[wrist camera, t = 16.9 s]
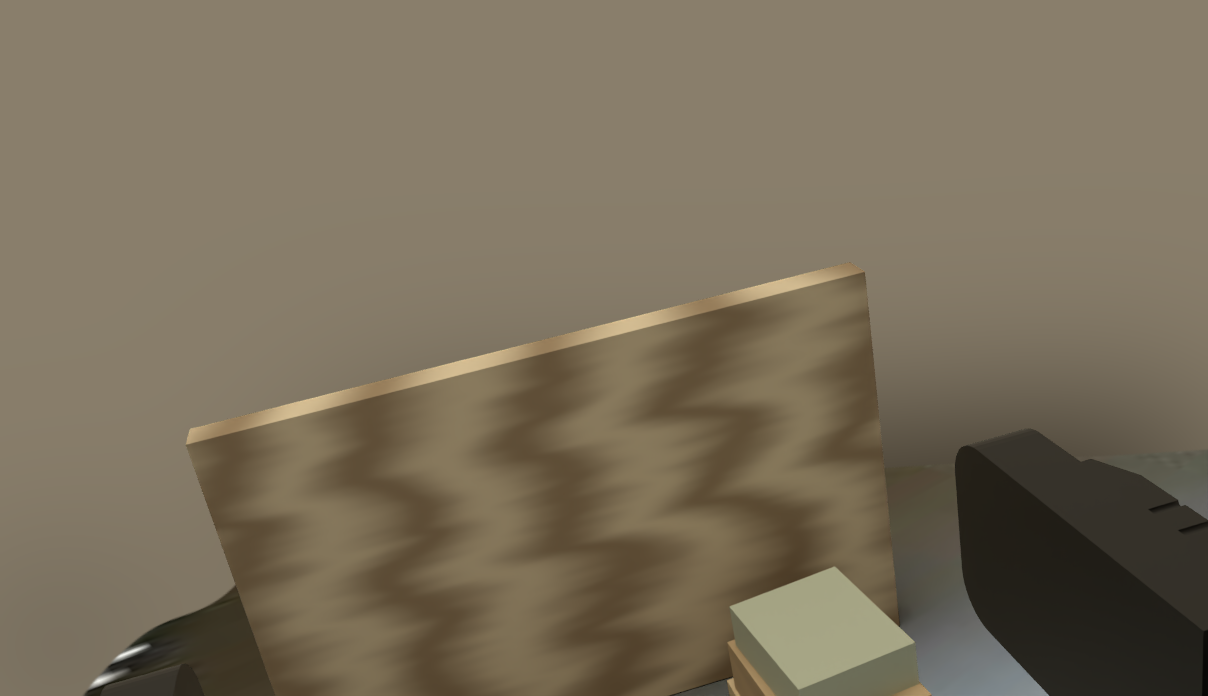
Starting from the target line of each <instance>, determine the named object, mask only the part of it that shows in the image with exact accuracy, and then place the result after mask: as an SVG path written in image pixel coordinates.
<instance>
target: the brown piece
mask: <svg viewBox="0 0 1208 696" xmlns="http://www.w3.org/2000/svg"><path fill="white" fill-rule="evenodd" d="M868 309H869V308H868V298H867V288H866V279H865V272H864V271H863V270H861V269H860V268H858V267H856V266H855V265H853V264H852V263H850V262H849V263H845V264H841V265H837V266H833V267H829V268H825V269H822V270H818V271H813V272H809V273H806V274H801V275H797V276H794V277H789V278H786V279H782V280H778V281H774V282H770V283H766V284H762V285H758V286H754V287H750V288H746V289H742V290H738V291H734V292H731V293H726V294H722V295H718V296H715V297H711V298H706V299H702V300H699V301H695V302H691V303H687V304H683V305H679V306H675V307H671V308H667V309H663V310H659V311H656V312H651V313H647V314H643V315H639V316H635V317H632V318H627V319H623V320H619V321H615V322H611V323H608V324H604V325H600V326H596V327H592V328H588V329H584V330H580V331H576V332H572V333H568V334H564V335H560V336H556V337H552V338H548V339H544V340H540V341H536V342H532V343H528V344H525V345H521V346H517V347H513V348H509V349H505V350H501V351H497V352H493V353H489V354H485V355H481V356H477V357H473V358H469V359H465V360H462V361H457V362H453V363H450V364H445V365H441V366H437V367H434V368H430V369H426V370H422V371H418V372H414V373H410V374H406V375H402V376H398V377H395V378H390V379H386V380H382V381H378V382H374V383H370V384H366V385H362V386H358V387H354V388H351V389H346V390H343V391H339V392H335V393H331V394H327V395H323V396H319V397H315V398H311V399H307V400H303V401H299V402H295V403H292V404H287V405H283V406H279V407H275V408H271V409H267V410H264V411H260V412H256V413H252V414H248V415H244V416H240V417H236V418H232V419H228V420H224V421H220V422H216V423H212V424H208V425H204V426H200V427H196V428H192V429H190V431H189V435H188V439H187V442H186V447H187V450H188V452H189V455H190V458H191V461H192V464H193V467H194V469H195V472H196V475H197V478H198V480H199V483H200V486H201V489H202V492H203V494H204V497H205V500H206V503H207V506H208V508H209V511H210V514H211V517H212V519H213V522H214V525H215V528H216V531H217V534H218V536H219V539H220V542H221V545H222V548H223V550H224V553H225V556H226V559H227V562H228V564H229V567H230V570H231V573H232V576H233V578H234V581H235V584H236V587H237V589H238V592H239V595H240V598H241V601H242V603H243V606H244V609H245V612H246V615H247V617H248V620H249V623H250V626H251V629H252V631H253V634H254V637H255V640H256V643H257V645H258V648H259V651H260V654H261V657H262V659H263V662H264V665H265V668H266V670H267V673H268V676H269V679H270V682H271V684H272V687H273V690H274V693H275V696H669V695H672V694H676V693H679V692H682V691H686V690H689V689H692V688H696V687H699V686H702V685H705V684H709V683H712V682H715V681H719V680H722V679H725V678H729V677H732V676H733V673H732V667H731V662H730V656H729V651H728V645H727V642H729V641H732V640H735V637H734V631H733V626H732V620H731V614H730V608H729V606H732V605H735V604H737V603H740V602H743V601H745V600H748V599H751V598H753V597H756V596H758V595H761V594H764V593H766V592H769V591H772V590H774V589H777V588H779V587H782V586H785V585H787V584H790V583H793V582H795V581H798V580H800V579H803V578H806V577H808V576H811V575H814V574H816V573H819V572H821V571H824V570H827V569H829V568H832V567H836V568H837V569H838V570H839V571H840V572H841V573H842V574H843V575H844V576H845V577H847V578H848V579H849V580H850V581H851V582H852V583H853V584H854V585H855V586H856V587H857V588H858V589H859V590H860V591H861V592H862V593H863V594H865V595H866V596H867V597H868V598H869V599H870V600H871V601H872V602H873V603H874V604H875V605H876V606H877V607H878V608H879V609H880V610H881V611H882V612H884V613H885V614H886V615H887V616H888V617H889V618H890V619H891V620H892V621H893V622H894V623H895V624H896V625H897V626H900V624H899V613H898V603H897V593H896V583H895V573H894V563H893V552H892V542H891V532H890V522H889V512H888V501H887V491H886V481H885V471H884V461H883V451H882V440H881V431H880V420H879V410H878V400H877V390H876V381H875V369H874V359H873V349H872V340H871V329H870V318H869V310H868Z"/></svg>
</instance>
